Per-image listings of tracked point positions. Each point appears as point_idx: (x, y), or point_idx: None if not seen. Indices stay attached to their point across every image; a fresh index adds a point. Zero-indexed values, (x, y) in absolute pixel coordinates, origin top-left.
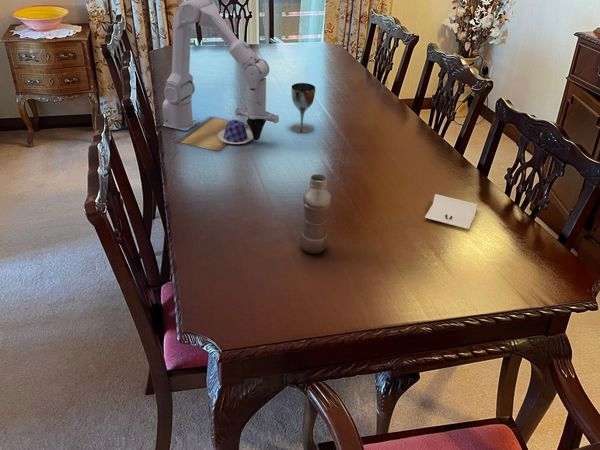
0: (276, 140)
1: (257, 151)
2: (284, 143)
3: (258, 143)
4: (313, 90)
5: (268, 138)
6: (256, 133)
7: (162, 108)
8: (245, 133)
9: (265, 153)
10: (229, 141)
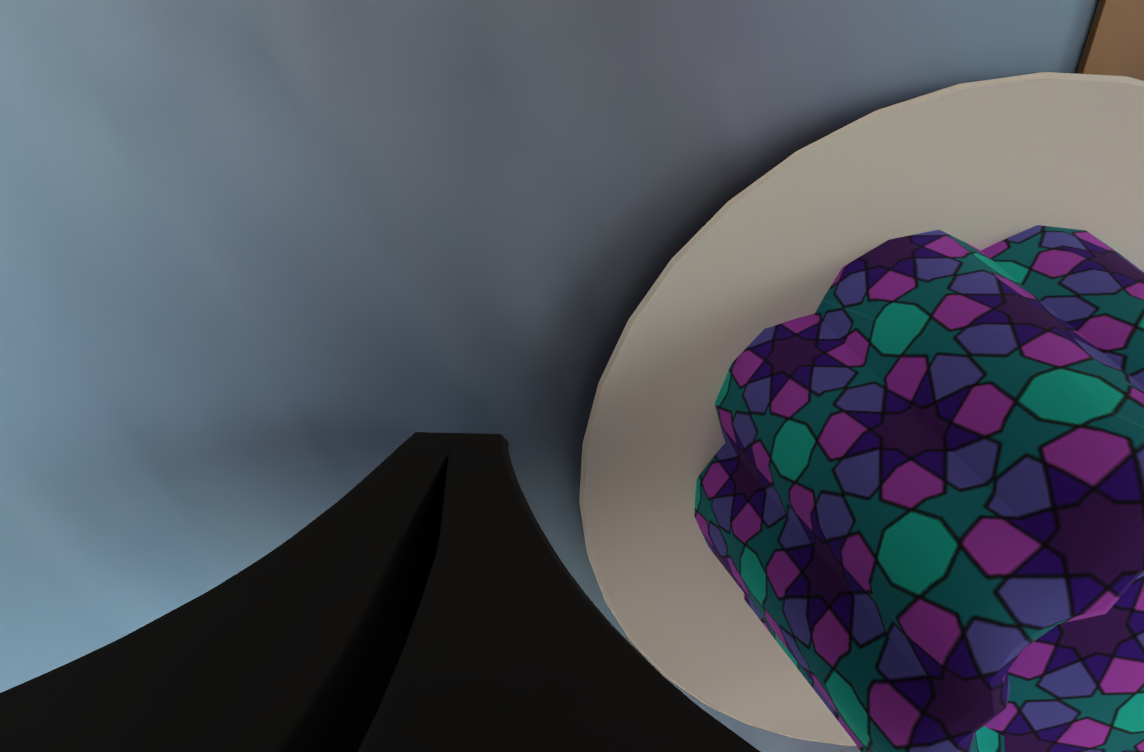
0: None
1: (248, 69)
2: (4, 611)
3: None
4: None
5: None
6: (367, 512)
7: None
8: (761, 550)
9: (16, 45)
10: (1030, 231)
